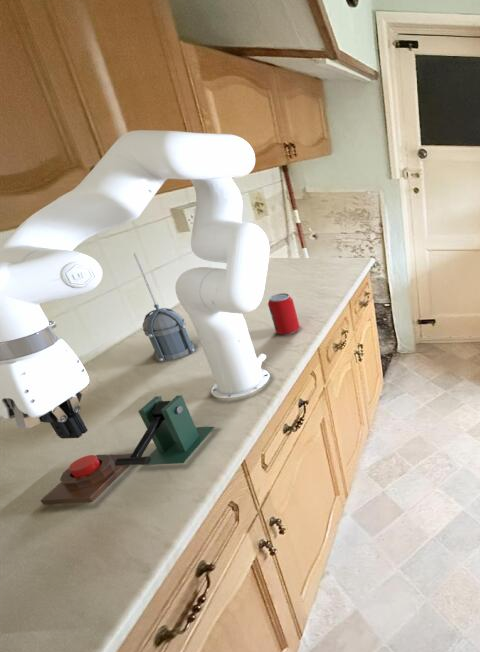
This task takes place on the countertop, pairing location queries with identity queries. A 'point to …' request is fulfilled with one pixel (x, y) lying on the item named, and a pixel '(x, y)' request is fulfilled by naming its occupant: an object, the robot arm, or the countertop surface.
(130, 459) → the switch lever
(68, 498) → the control block
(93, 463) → the red button
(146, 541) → the countertop surface
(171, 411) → the switch bracket
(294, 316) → the beverage can
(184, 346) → the lantern
